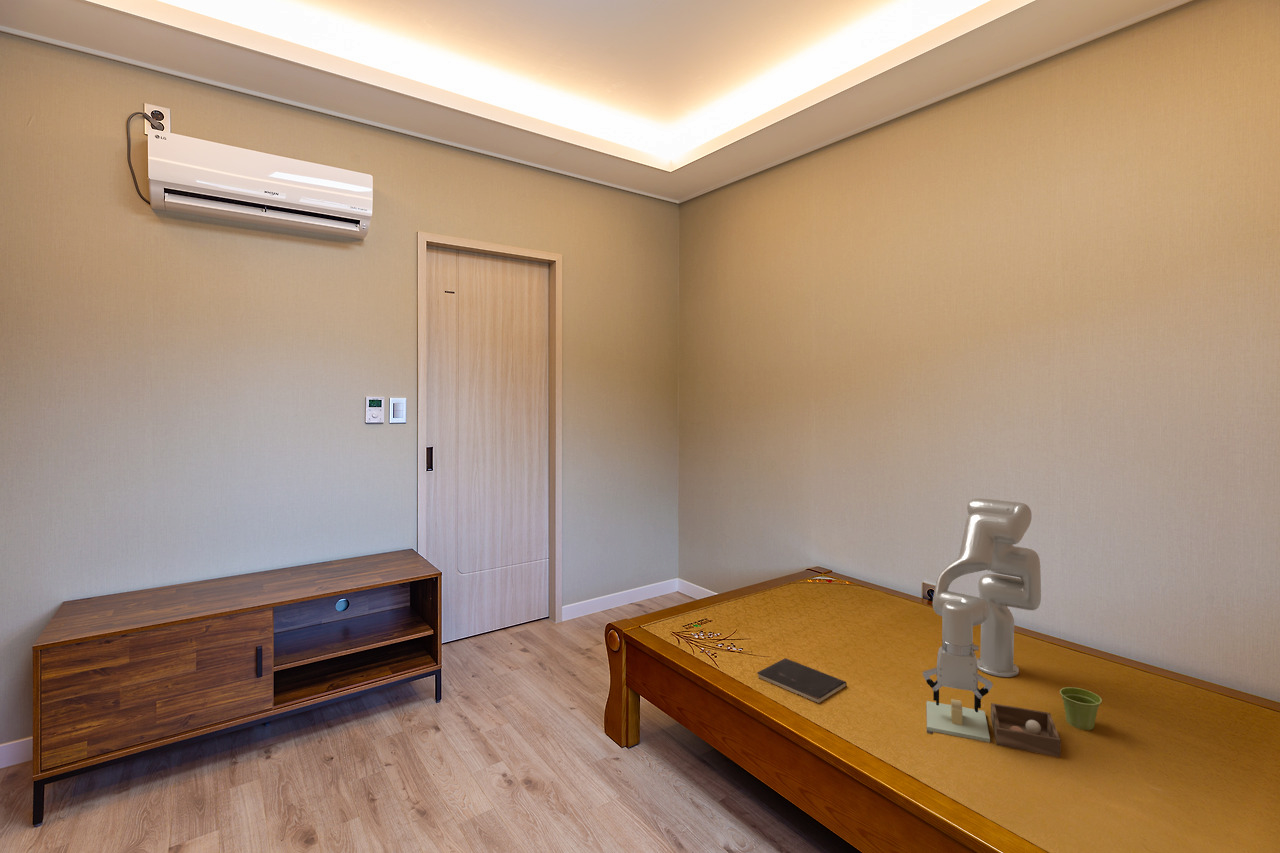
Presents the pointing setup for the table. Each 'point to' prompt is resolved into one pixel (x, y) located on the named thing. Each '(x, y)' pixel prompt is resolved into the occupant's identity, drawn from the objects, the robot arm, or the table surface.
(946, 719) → the lid
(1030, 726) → the cream ball
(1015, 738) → the walnut box
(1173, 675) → the table surface
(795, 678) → the hardcover book
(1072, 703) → the plant pot
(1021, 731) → the terracotta ball
